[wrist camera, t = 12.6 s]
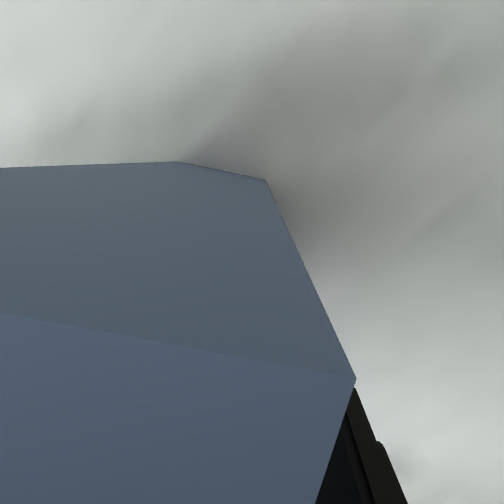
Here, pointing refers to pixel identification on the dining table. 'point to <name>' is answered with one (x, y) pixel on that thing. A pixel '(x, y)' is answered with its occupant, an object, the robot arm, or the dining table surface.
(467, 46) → the dining table surface
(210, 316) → the book
